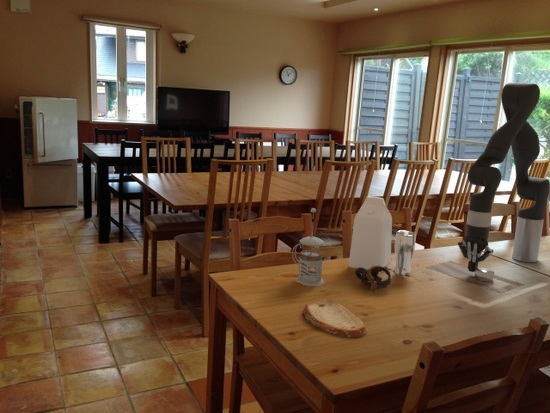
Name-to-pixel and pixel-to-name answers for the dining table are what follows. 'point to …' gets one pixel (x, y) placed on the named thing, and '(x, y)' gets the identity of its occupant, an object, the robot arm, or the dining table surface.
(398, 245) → the beer glass
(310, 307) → the bread slice
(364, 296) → the dining table surface
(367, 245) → the milk
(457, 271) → the grey flat slab
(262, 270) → the dining table surface
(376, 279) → the dark brown twisted loop
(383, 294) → the dining table surface
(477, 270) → the glossy grey dome
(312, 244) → the french press
